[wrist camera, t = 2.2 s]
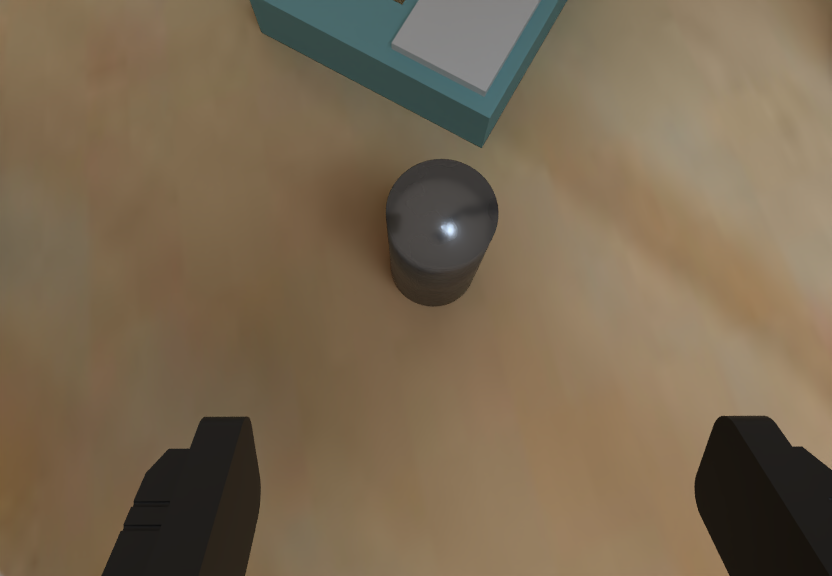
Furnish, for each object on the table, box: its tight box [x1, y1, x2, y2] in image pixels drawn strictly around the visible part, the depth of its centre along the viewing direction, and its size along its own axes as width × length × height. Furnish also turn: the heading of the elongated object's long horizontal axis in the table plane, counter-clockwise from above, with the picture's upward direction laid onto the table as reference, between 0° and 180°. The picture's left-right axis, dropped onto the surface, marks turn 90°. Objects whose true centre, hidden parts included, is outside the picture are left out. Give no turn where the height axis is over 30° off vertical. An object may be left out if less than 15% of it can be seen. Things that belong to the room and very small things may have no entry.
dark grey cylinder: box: [386, 159, 498, 306], centre depth 34 cm, size 5×5×10 cm
